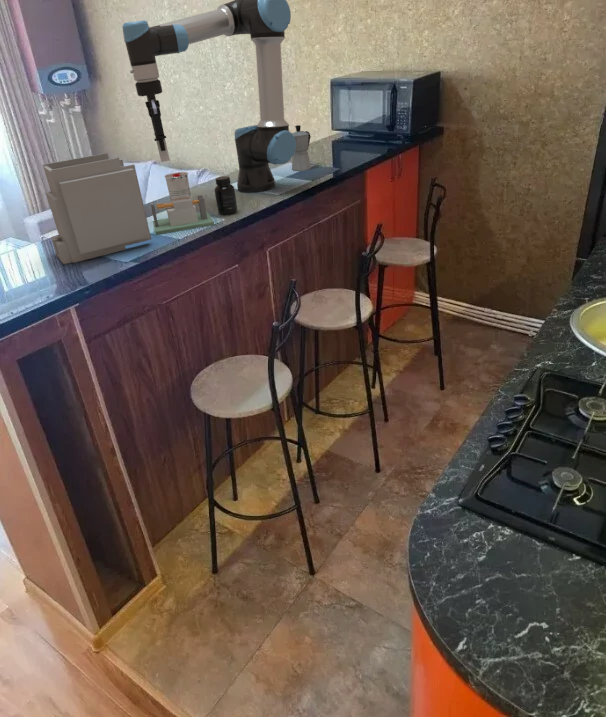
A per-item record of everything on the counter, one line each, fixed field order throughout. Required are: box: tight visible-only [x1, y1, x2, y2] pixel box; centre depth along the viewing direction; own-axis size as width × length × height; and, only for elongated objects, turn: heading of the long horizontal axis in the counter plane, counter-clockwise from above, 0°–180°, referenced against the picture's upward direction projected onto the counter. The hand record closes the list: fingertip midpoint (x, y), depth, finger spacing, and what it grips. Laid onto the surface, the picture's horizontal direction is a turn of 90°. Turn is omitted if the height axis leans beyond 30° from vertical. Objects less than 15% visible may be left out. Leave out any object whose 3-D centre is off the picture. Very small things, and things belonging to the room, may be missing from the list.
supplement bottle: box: [214, 175, 238, 216], centre depth 197 cm, size 7×7×12 cm
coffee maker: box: [291, 124, 312, 172], centre depth 248 cm, size 15×9×18 cm, turn 148°
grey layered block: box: [42, 152, 152, 265], centre depth 170 cm, size 17×27×26 cm, turn 122°
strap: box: [155, 197, 201, 210], centre depth 189 cm, size 15×4×1 cm, turn 107°
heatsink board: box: [149, 194, 215, 236], centre depth 190 cm, size 19×14×8 cm
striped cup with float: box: [164, 171, 192, 203], centre depth 208 cm, size 10×8×12 cm
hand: (165, 160), depth 185 cm, fingers closed
